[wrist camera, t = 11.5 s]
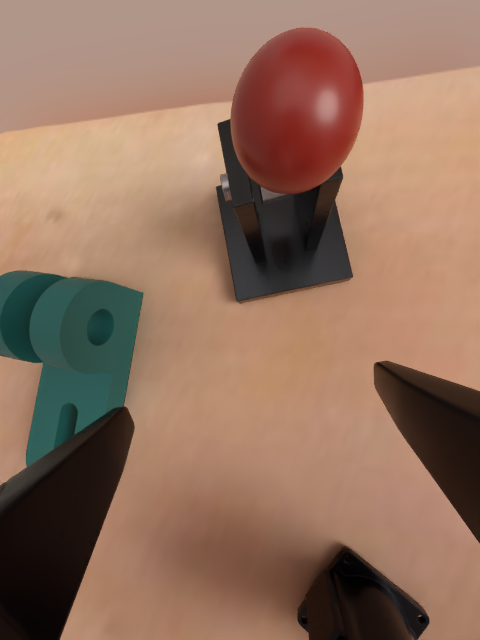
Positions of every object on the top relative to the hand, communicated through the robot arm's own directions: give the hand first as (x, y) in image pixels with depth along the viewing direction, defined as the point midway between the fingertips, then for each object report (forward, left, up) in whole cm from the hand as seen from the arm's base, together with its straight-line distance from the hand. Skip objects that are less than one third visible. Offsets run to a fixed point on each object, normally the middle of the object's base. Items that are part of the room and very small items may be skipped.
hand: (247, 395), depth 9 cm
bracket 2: (+5, -9, -12) cm, 16 cm away
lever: (+3, -7, -1) cm, 8 cm away
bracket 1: (+12, +11, -12) cm, 20 cm away
